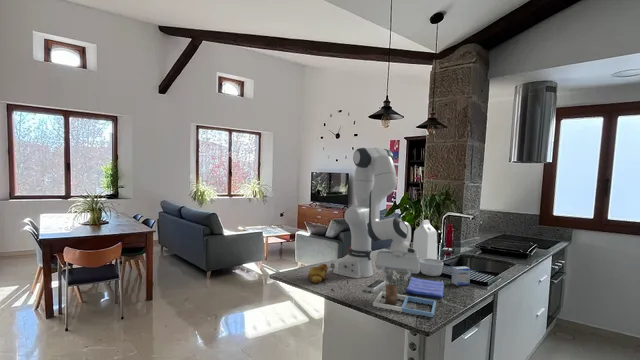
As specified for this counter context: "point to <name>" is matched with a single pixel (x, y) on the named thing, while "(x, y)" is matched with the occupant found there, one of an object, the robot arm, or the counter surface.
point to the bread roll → (318, 273)
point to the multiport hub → (375, 285)
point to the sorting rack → (406, 298)
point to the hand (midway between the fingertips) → (394, 278)
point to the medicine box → (461, 275)
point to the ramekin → (431, 266)
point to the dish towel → (425, 288)
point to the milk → (425, 241)
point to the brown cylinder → (391, 294)
